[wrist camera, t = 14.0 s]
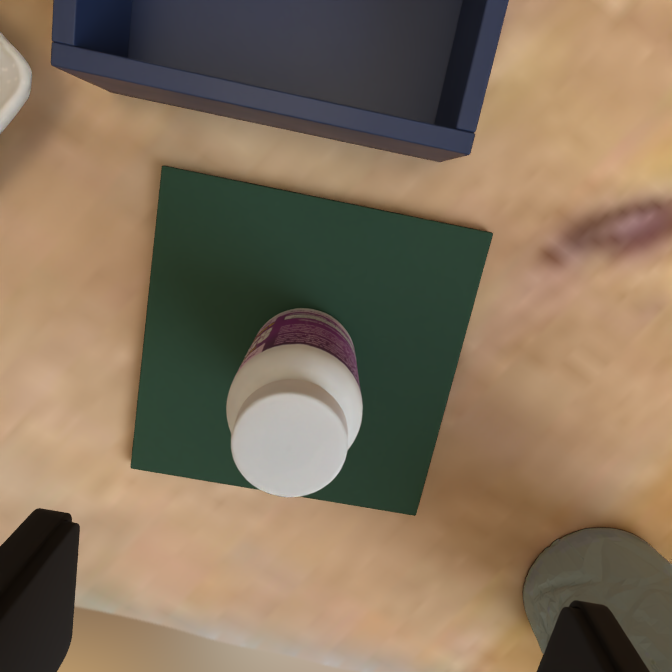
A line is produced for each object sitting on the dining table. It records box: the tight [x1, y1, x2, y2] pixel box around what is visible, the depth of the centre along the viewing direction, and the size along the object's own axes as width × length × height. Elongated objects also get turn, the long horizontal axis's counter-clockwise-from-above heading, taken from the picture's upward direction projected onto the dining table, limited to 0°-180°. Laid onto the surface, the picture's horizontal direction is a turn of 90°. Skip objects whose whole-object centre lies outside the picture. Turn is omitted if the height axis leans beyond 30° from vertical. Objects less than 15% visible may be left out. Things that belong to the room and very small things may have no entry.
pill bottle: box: [226, 308, 363, 497], centre depth 22 cm, size 5×5×10 cm
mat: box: [131, 166, 493, 516], centre depth 27 cm, size 16×16×1 cm
